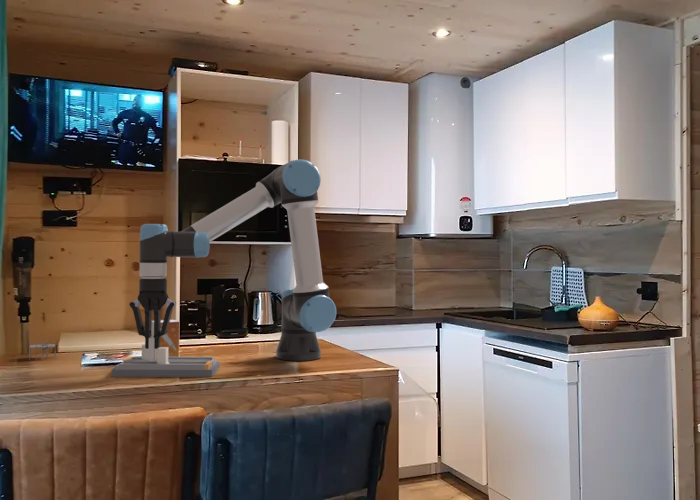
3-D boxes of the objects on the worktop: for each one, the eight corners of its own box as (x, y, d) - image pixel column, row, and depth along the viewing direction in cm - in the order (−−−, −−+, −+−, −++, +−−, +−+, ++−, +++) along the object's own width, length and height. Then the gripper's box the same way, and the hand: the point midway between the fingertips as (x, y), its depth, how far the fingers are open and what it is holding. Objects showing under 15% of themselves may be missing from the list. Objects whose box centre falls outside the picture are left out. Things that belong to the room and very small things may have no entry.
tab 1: (153, 361, 186) (154, 343, 187) (150, 363, 183) (151, 345, 183) (143, 361, 186) (143, 343, 186) (140, 363, 183) (140, 344, 183)
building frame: (29, 358, 204) (29, 340, 204) (56, 356, 207) (56, 339, 207) (28, 361, 198) (28, 342, 198) (56, 359, 201) (56, 341, 201)
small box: (154, 363, 195) (154, 322, 196) (148, 360, 201) (148, 320, 201) (179, 361, 200) (179, 321, 200) (173, 358, 205) (173, 319, 205)
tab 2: (169, 365, 180) (169, 347, 180) (166, 367, 177) (166, 348, 177) (158, 365, 180) (159, 347, 180) (155, 367, 176) (156, 348, 176)
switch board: (219, 368, 189) (219, 356, 189) (211, 376, 176) (211, 364, 176) (126, 368, 188) (126, 356, 188) (111, 376, 175) (111, 364, 175)
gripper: (179, 277, 182) (178, 357, 182) (134, 277, 182) (133, 357, 182) (172, 278, 175) (172, 362, 175) (126, 278, 174) (125, 362, 174)
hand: (152, 359), depth 178 cm, fingers closed
